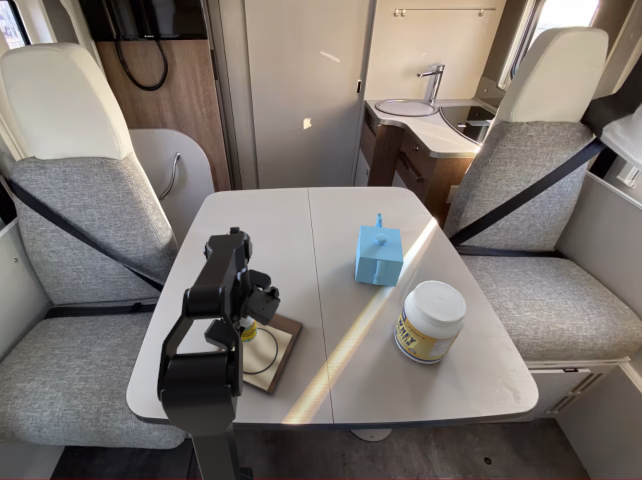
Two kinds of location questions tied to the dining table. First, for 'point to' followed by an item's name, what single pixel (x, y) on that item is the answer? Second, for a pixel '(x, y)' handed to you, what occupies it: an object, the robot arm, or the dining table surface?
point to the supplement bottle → (248, 329)
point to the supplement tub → (430, 321)
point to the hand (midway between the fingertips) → (245, 327)
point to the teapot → (378, 255)
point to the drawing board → (268, 352)
